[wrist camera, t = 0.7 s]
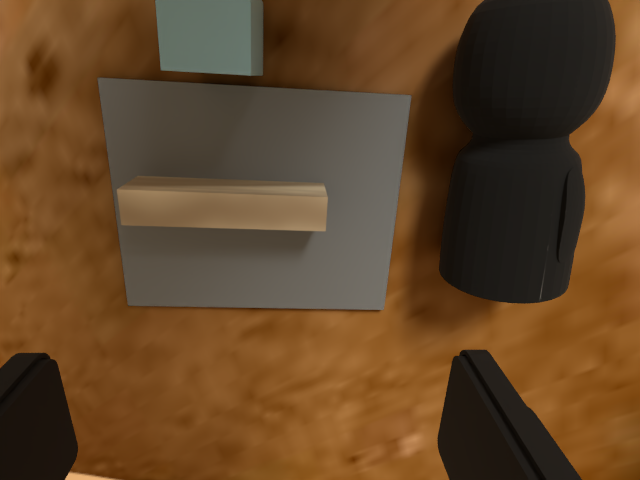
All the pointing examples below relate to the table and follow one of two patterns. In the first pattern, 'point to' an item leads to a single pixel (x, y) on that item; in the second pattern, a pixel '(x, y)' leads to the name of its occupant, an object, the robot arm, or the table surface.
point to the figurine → (523, 144)
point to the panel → (262, 165)
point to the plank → (223, 203)
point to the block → (211, 36)
